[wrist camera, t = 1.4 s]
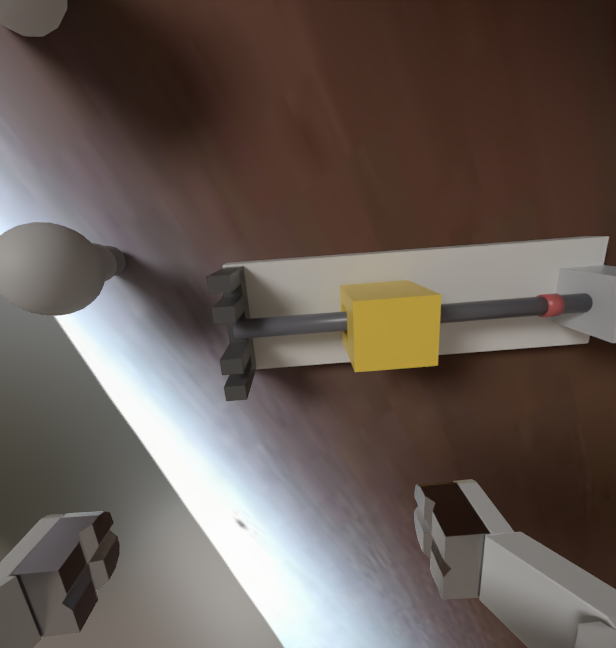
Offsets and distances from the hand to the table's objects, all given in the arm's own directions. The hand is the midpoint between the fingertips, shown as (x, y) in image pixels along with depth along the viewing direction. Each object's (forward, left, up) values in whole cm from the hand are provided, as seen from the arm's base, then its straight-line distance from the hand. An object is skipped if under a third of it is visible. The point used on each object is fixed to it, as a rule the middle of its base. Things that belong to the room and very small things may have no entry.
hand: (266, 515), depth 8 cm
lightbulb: (-6, -15, -23) cm, 29 cm away
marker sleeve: (0, +8, -20) cm, 22 cm away
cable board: (0, +12, -23) cm, 26 cm away
